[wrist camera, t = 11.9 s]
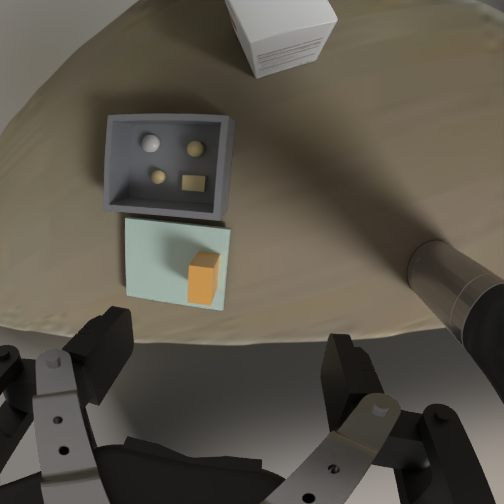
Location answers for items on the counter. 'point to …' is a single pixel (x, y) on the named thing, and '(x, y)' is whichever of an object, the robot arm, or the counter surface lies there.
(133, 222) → the lid
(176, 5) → the counter surface
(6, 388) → the robot arm
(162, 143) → the tub
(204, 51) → the counter surface
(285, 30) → the supplement box
